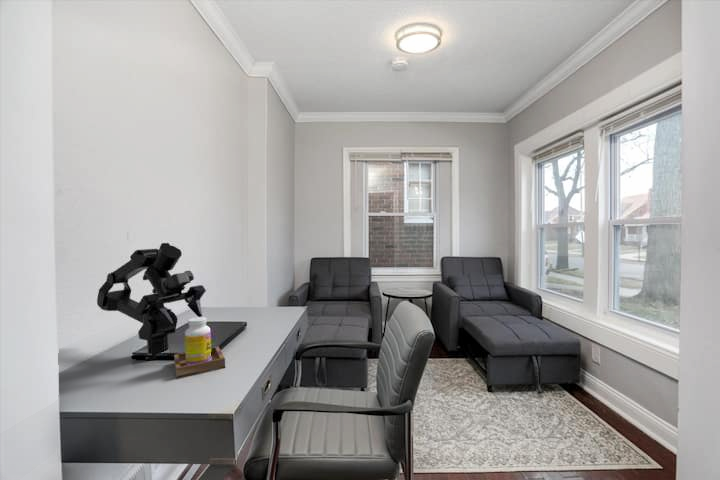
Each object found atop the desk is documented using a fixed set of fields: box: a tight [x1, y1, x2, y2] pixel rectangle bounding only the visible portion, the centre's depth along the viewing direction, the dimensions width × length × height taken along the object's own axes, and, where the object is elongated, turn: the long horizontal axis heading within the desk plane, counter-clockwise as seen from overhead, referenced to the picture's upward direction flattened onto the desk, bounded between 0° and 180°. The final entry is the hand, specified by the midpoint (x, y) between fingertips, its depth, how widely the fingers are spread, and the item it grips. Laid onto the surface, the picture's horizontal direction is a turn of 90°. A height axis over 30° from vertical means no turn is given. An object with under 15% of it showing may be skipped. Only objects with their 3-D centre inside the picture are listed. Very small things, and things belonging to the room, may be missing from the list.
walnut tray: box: [173, 345, 226, 379], centre depth 94 cm, size 12×12×3 cm
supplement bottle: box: [184, 316, 212, 365], centre depth 94 cm, size 7×7×13 cm
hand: (187, 320), depth 96 cm, fingers open, 9 cm apart
